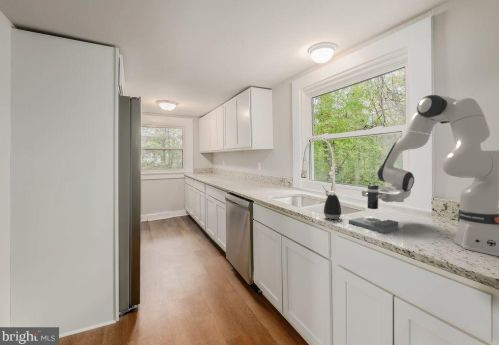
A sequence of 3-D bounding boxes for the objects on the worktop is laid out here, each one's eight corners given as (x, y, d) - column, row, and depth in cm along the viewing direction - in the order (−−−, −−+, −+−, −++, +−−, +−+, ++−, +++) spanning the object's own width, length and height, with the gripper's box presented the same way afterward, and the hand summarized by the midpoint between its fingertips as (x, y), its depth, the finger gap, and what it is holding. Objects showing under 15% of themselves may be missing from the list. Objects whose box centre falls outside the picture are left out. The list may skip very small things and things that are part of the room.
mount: (398, 229, 118) (398, 221, 118) (383, 233, 113) (383, 225, 112) (363, 220, 136) (363, 213, 136) (348, 223, 130) (348, 216, 130)
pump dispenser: (333, 215, 148) (333, 192, 147) (345, 219, 138) (345, 194, 137) (319, 217, 144) (320, 193, 143) (331, 221, 134) (331, 195, 133)
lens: (380, 208, 123) (380, 185, 122) (374, 209, 120) (374, 186, 120) (371, 206, 127) (371, 184, 126) (365, 207, 125) (365, 185, 124)
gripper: (370, 186, 138) (355, 187, 132) (407, 190, 120) (391, 192, 114) (370, 196, 139) (354, 198, 132) (406, 202, 121) (390, 205, 114)
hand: (371, 195), depth 123 cm, fingers closed on lens, 5 cm apart
